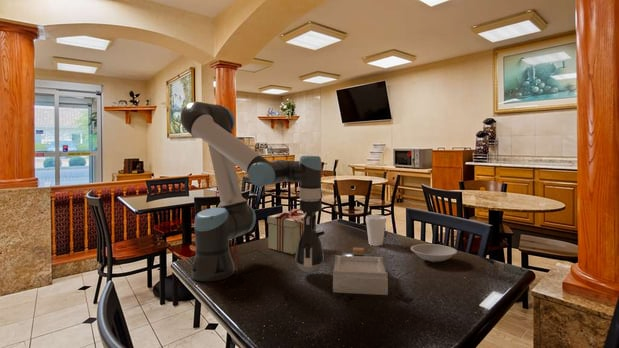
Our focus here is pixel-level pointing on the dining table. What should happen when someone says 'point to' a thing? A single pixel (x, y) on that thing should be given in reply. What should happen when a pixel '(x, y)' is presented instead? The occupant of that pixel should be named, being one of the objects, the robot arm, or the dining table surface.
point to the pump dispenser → (316, 252)
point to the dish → (433, 252)
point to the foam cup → (375, 229)
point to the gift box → (285, 230)
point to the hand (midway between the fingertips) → (309, 260)
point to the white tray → (359, 273)
